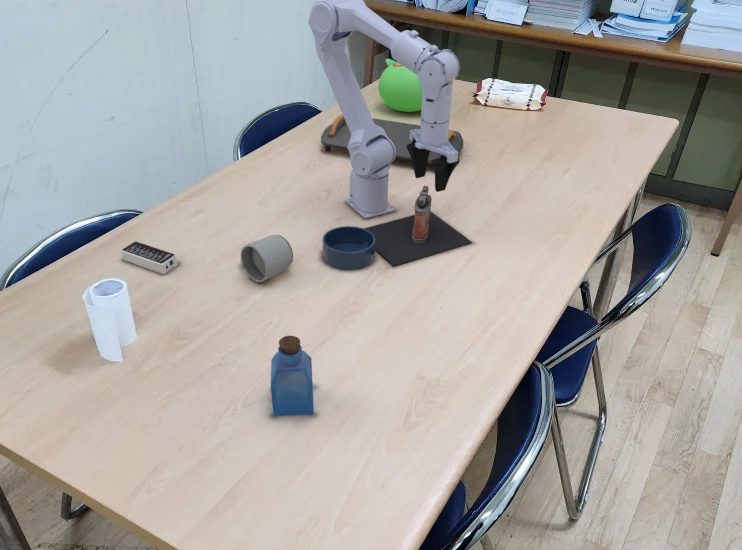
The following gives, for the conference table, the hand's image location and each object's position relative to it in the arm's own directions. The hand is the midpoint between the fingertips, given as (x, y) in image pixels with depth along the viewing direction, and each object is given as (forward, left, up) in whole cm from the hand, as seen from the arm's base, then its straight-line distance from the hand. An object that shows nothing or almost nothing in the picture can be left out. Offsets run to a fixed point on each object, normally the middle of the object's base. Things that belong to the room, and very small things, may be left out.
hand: (430, 183), depth 137 cm
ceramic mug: (0, -39, -11) cm, 41 cm away
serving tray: (-41, +17, -11) cm, 46 cm away
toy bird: (-64, +37, -11) cm, 75 cm away
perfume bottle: (+37, -50, -11) cm, 63 cm away
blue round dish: (+3, -21, -10) cm, 24 cm away
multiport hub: (-14, -58, -11) cm, 61 cm away
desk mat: (+3, -5, -10) cm, 12 cm away
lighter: (+3, -3, -10) cm, 11 cm away
